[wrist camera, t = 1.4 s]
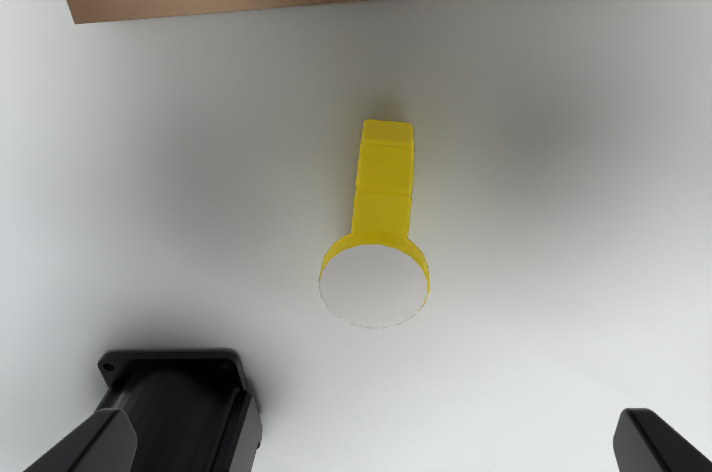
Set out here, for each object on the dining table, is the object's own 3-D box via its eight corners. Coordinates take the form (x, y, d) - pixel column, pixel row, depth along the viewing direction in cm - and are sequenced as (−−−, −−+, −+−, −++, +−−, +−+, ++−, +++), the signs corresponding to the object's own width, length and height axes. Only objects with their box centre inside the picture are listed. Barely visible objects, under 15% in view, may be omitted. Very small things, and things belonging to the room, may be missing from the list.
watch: (408, 249, 19) (411, 376, 14) (336, 242, 19) (315, 366, 14) (434, 99, 15) (450, 199, 10) (345, 90, 15) (321, 186, 10)
